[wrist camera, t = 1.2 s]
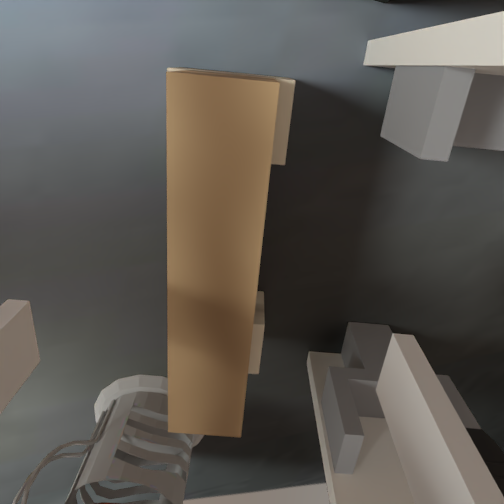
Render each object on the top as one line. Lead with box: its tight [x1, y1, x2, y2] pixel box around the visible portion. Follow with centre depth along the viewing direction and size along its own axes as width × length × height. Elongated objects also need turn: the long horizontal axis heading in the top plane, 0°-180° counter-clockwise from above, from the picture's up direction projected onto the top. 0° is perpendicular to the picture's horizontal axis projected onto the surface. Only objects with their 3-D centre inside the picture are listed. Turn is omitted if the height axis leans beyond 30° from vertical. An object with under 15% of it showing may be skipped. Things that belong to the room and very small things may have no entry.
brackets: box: [307, 11, 504, 504], centre depth 20 cm, size 8×22×14 cm, turn 175°
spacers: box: [167, 67, 296, 374], centre depth 24 cm, size 6×18×4 cm, turn 175°
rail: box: [166, 70, 280, 437], centre depth 20 cm, size 4×18×5 cm, turn 175°
